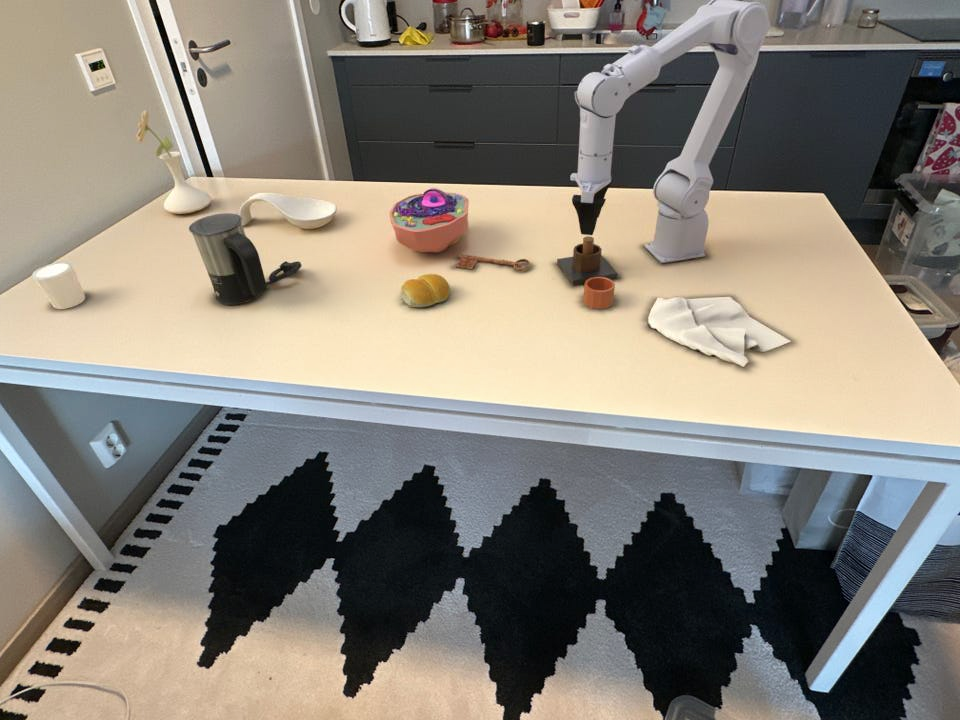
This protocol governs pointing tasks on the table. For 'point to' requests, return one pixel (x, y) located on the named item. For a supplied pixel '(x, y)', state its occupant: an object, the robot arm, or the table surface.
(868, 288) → the table surface
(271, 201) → the spoon rest
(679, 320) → the cloth
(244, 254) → the milk frother
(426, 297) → the bread roll
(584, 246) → the peg stand
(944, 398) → the table surface
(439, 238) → the cell model
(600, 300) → the terracotta ring
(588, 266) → the walnut ring
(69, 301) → the white short cylinder
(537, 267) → the table surface
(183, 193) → the flower in vase
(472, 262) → the key
